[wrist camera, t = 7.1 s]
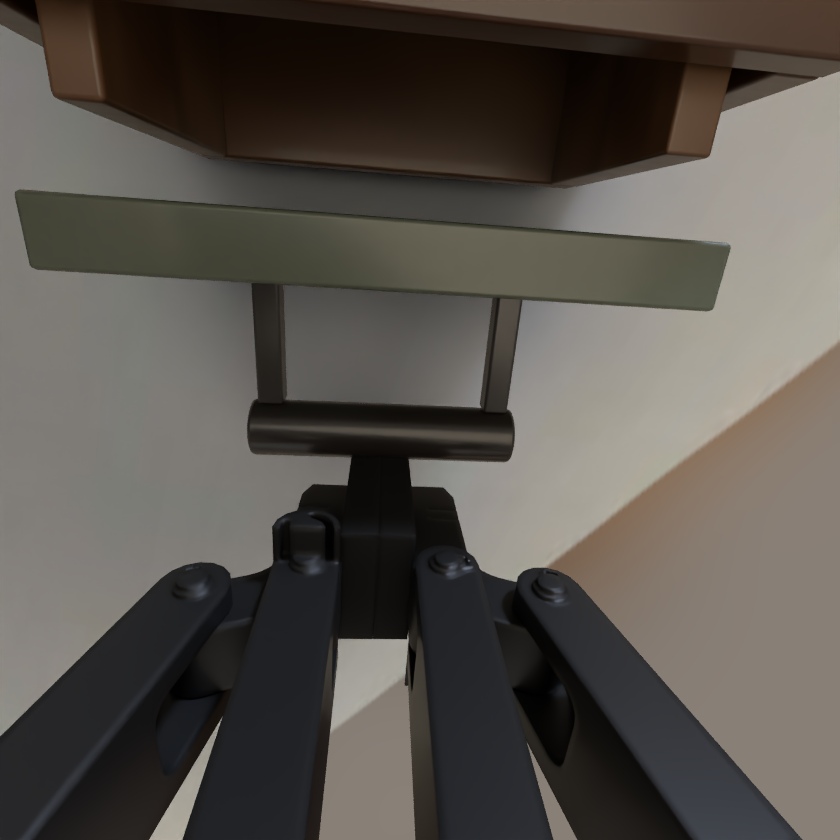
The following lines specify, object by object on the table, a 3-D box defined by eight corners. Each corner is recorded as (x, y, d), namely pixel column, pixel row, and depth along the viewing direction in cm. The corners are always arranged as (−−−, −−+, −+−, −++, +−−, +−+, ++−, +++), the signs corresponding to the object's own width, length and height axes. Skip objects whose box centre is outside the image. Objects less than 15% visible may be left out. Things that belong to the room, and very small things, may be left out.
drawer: (548, 405, 17) (655, 520, 11) (207, 390, 16) (80, 507, 10) (686, -381, 11) (1227, -1473, 4) (123, -489, 10) (-518, -2239, 3)
